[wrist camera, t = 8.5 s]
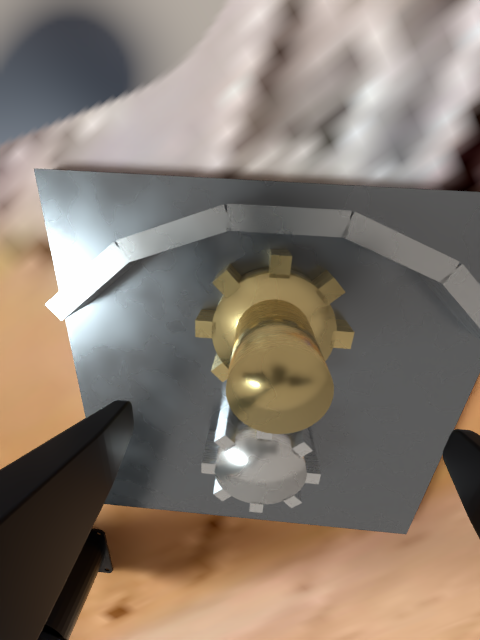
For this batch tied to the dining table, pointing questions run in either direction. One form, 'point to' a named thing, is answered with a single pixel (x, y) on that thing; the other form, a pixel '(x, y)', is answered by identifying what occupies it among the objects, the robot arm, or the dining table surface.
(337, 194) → the carrier plate
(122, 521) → the dining table surface
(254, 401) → the gear
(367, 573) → the dining table surface
